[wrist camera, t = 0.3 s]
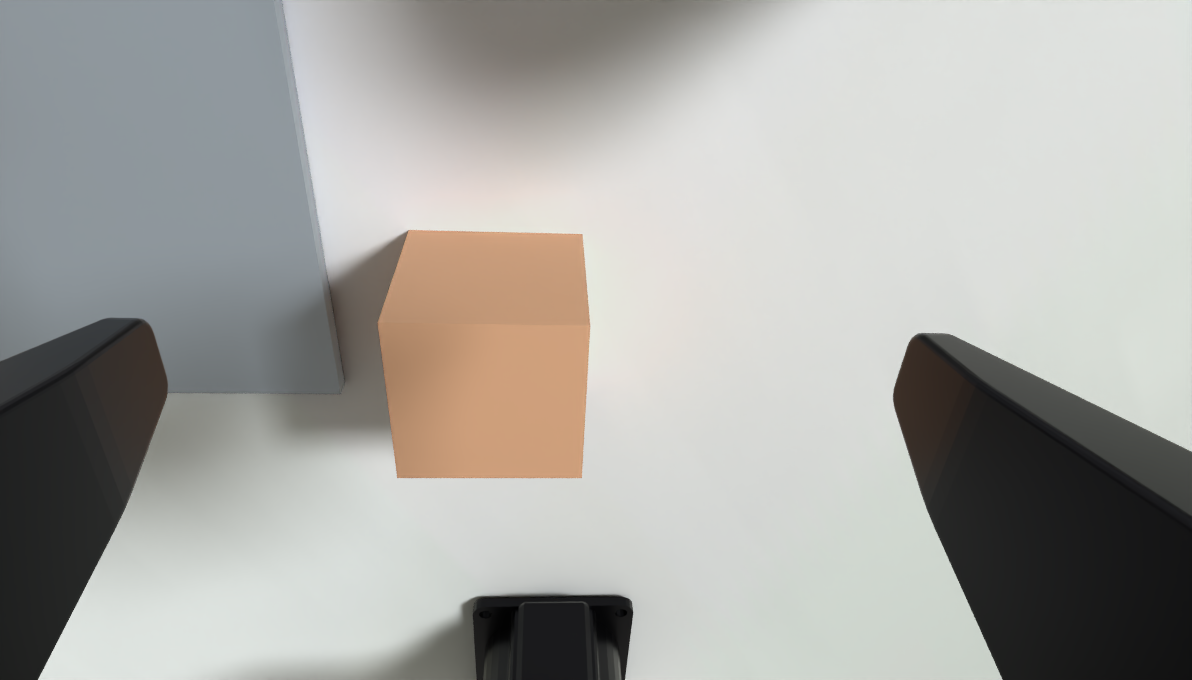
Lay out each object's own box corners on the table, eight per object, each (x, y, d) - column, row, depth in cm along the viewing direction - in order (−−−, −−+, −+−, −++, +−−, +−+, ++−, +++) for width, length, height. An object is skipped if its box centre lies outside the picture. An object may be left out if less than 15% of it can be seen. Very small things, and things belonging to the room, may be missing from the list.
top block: (575, 370, 25) (581, 477, 21) (421, 368, 25) (397, 477, 21) (582, 232, 23) (590, 325, 18) (409, 228, 22) (377, 322, 18)
